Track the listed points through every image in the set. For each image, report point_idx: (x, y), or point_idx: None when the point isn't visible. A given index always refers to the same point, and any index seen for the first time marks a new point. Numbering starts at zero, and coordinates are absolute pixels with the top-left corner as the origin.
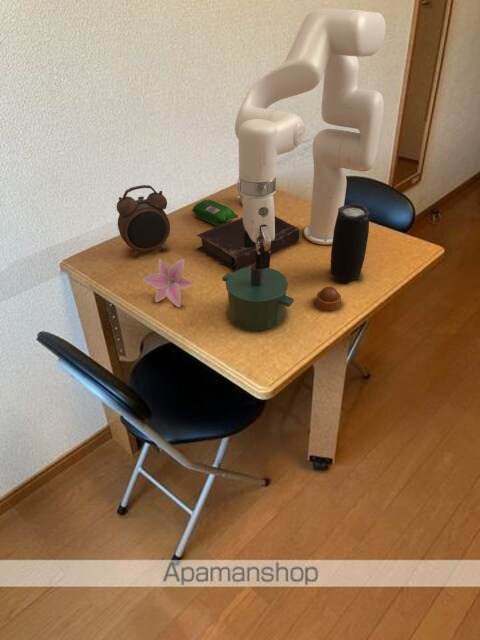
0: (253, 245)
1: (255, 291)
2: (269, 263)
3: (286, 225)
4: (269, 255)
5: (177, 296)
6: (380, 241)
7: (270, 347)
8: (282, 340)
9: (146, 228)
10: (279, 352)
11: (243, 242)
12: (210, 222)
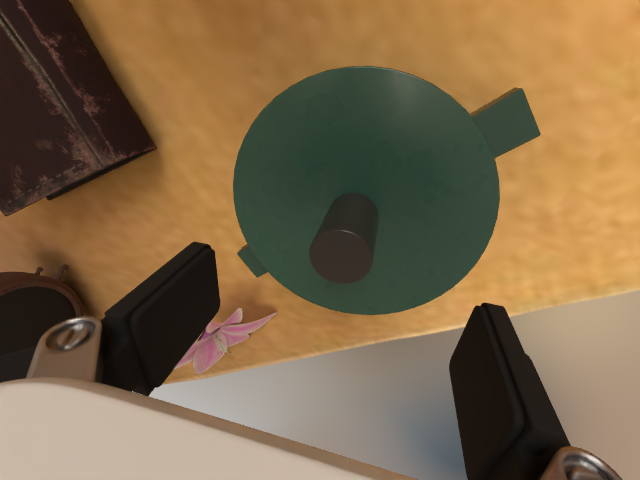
0: (210, 273)
1: (408, 246)
2: (511, 329)
3: None
4: (537, 395)
5: (256, 322)
6: None
7: (535, 199)
8: (532, 152)
9: (22, 346)
10: (576, 185)
11: (18, 90)
12: None
